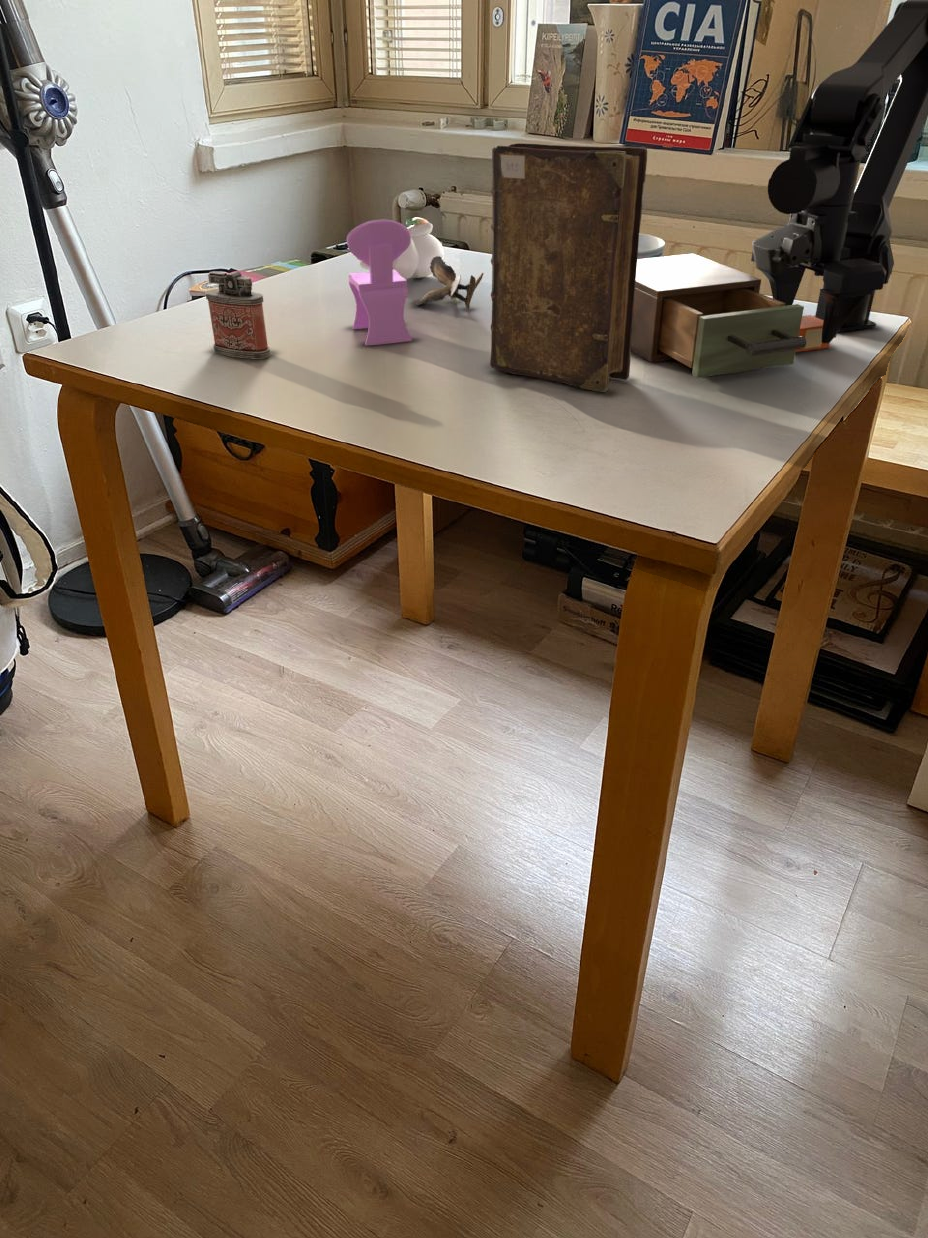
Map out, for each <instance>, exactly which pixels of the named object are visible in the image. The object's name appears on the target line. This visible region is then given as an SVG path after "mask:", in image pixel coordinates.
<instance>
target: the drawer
mask: <svg viewBox="0 0 928 1238" xmlns="http://www.w3.org/2000/svg"><path fill="white" fill-rule="evenodd" d="M662 298H663V301H662V310H661V320H660V330H659V339H658V350H660V351H661V352H663V353H665V354H667V355H669V356H670V357H672V358H674V359H673V360H676V361H677V362H679V363H680V364H683V365H685V366H686V367H688V368H690V369H692V371H691V372H692V373H691V376H693V377H695V378H696V379H699V378H705V377H706V378H707V377H713V376H720V375H728V374H734V373H740V372H748V371H754V370H760V369H768V368H775V367H782V366H789V365H794V363H795V359H796V358H795V357H796V353H797V352H796V350H799V349H803V348H805V346H806V339H805V337H803V336H800V337H799V331H800V326H801V320H802V316H804V315H803V314H804V309H805V306H804V305H801V304H799V303H797V304H796V303H795V304H793V305H787V306H785V303H783V302H780V301H778V300H775V299H773V297H770V296H767V295H766V294H763V293H760V292H759V293H758V292H755V291H753V290H750V289H748V288H739V289H730V290H721V291H713V292H704V293H696V294H687V295H679V296H670V297H662Z"/></svg>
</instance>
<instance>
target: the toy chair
mask: <svg viewBox="0 0 928 1238" xmlns="http://www.w3.org/2000/svg"><path fill="white" fill-rule="evenodd" d="M408 228H409V227H406V225H405V224H402V223H400V222H398V221H396V220H391V219H385V218H384V219H372V220H368V221H365V222H363V223H361V224H358V225H357V226H355V227H354V228H352V229H351V230H350V231H349V232H348V234H347V236H346V245H347V248H348V250H349V252H350V253H351V255H353V256H354V257H355V258H356V259H357V260H358V261H359V262H360V261H362V262H364V263H366V264H367V265H368V266H369V270H368V271H369V272H351V273H348V285H349V288H350V290H351V292H352V294H353V297H354V301H355V315H354V320H353V324H352V329H353V330H359V329H368V330H367V336H366V339H365V343H364V345H365V346H379V345H387V344H395V343H396V344H397V343H407V342H412V341H413V339H412V337H411V334H410V333H409V330H408V328H407V325H406V322H405V317H404V316H405V313H404V311H405V305H406V301H407V298H408V293H409V290H408V279H407V280H406V279H405V278H403V277H401V276H400V275H399V273H398V272H397V271H396V270H393V261H394V260H395V259H397V258H398V257H399V256H400V255H401V254H402V253H403V252H404V251H405V250H406V249H407V248H408V247H409V245H410V240H411V236H410V232H409V230H408Z"/></svg>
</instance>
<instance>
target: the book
mask: <svg viewBox="0 0 928 1238" xmlns="http://www.w3.org/2000/svg"><path fill="white" fill-rule="evenodd" d="M647 163H648V148H647V147H644V146H592V145H591V146H589V145H588V146H584V145H559V144H558V145H557V144H541V143H522V142H521V143H512V144H509V145H496V147H493V148H492V149H491V181H492V183H491V184H492V187H491V190H490V193H491V196H492V199H491V200H492V201H491V204H492V205H491V206H492V209H491V210H492V212H491V215H492V217H491V219H492V220H491V221H492V222H491V226H490V229H491V232H492V234H491V258H490V264H491V292H490V297H491V322H490V331H491V336H490V337H491V343H490V345H491V346H490V360H489V361H490V362H489V364H490V366H491V368H493V369H495V370H496V371H500V372H505V373H510V374H511V375H512V374H513V375H520V376H527V377H533V378H537V379H543V380H547V381H548V380H550V381H553V382H556V383H563V384H566V385H570V386H572V387H577V388H580V389H584V390H590V391H595V392H600V393H604V392H608V391H609V390H610V378H611V379H616V380H623V381H627V380H628V379H629V378H630V372H631V359H632V351H631V335H632V329H633V308H634V297H635V282H636V270H637V259H638V244H639V233H640V231H641V230H640V229H641V222H642V215H643V195H644V187H645V182H646V175H647Z"/></svg>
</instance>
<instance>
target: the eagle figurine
mask: <svg viewBox="0 0 928 1238" xmlns="http://www.w3.org/2000/svg"><path fill="white" fill-rule="evenodd" d="M430 264H431V266H430V269H431V272H432V273H433V274H432V276H433V278H435V279H436V280H437V282H438V283H440V284H441V285H444V286H443V287H440V288H437V289H436V288H435V289H432V290H430V291H428V292H427V293H425V294H424V295H423V297H421V299H420V300H418V301H416V302H415V306H420V305H423V304H425V303H428V302H432V301H433V302H439V301H442V300H443V299H445V297H446V296H448V297H449V298H450V301H452V302H453V303H455V304H457V299H458V300H459V301H461V302H464V306H465V308H466V309H467V311H469V310H470V306H471V305H470V304H471V301H472V298H473V295H474V293H475V290H476V289H477V287H478V286H479V284H480V283H481V281H482V279H483V277H484V273H485V272H481V274H480V275H479V276H478V278H477V279H476V277H475V276H473V275H470V278H469V282H468V283H467V284H466V285H465V284H462V283H461V281H462V275H461V274H459V276H458V277H457V274H456V272H455V270H454V269H453V267H452V266H451V265H448V264H447V263H446V261H444V259H443V260H442V258H441V257H440V256H439V257H438V256H436V257H434V258H433V259H432V260H431V263H430ZM459 290H460V291H463V290H464V291H466V295H465V296H463V294H460V293H459Z"/></svg>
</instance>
